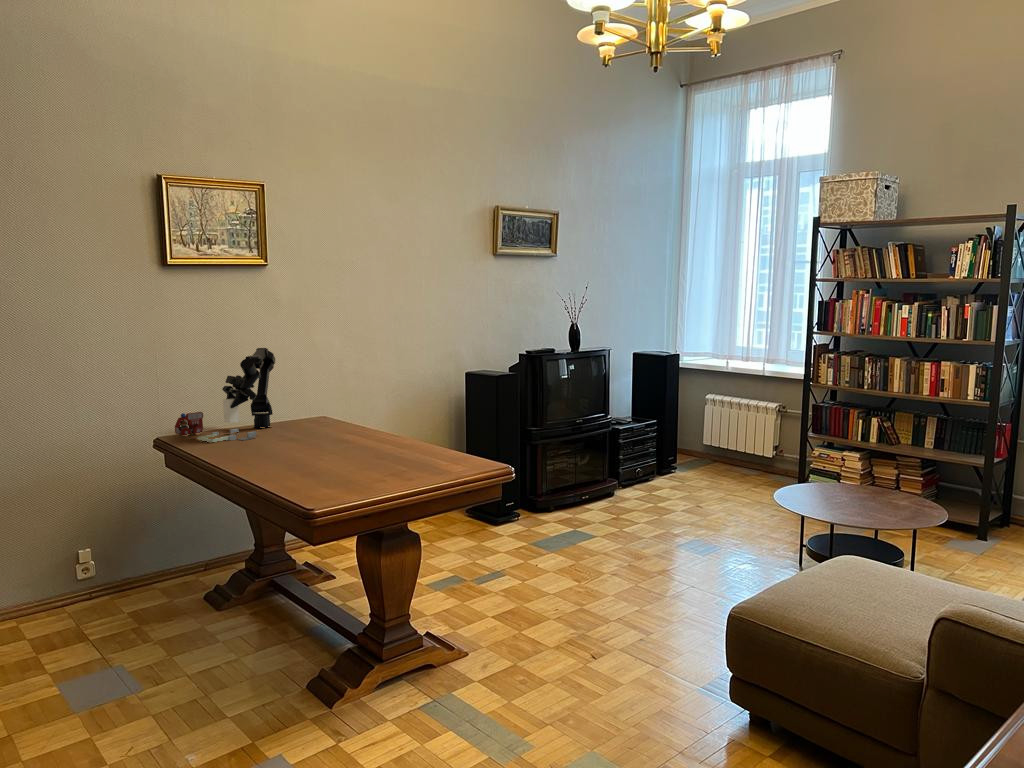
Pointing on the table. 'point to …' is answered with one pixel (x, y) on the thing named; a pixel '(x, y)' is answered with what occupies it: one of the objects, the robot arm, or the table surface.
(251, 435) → the channel
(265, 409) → the robot arm
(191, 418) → the toy fire truck
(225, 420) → the ivory block
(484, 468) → the table surface
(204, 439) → the sage bay
